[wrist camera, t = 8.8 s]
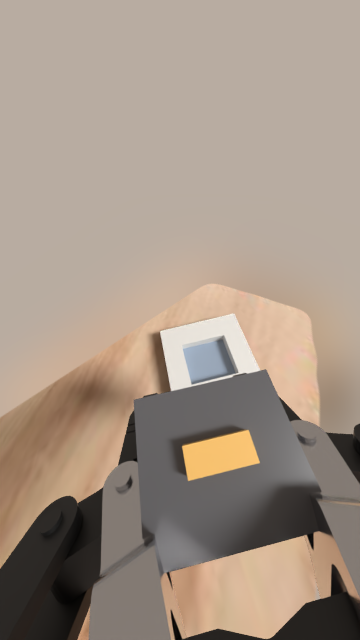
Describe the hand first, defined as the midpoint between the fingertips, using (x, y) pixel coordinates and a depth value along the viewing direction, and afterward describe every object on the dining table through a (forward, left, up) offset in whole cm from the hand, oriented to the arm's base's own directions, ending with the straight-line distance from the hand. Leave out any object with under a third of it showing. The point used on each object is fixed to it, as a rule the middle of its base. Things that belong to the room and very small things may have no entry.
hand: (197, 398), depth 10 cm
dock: (+4, +7, -18) cm, 19 cm away
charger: (0, -2, -4) cm, 5 cm away
